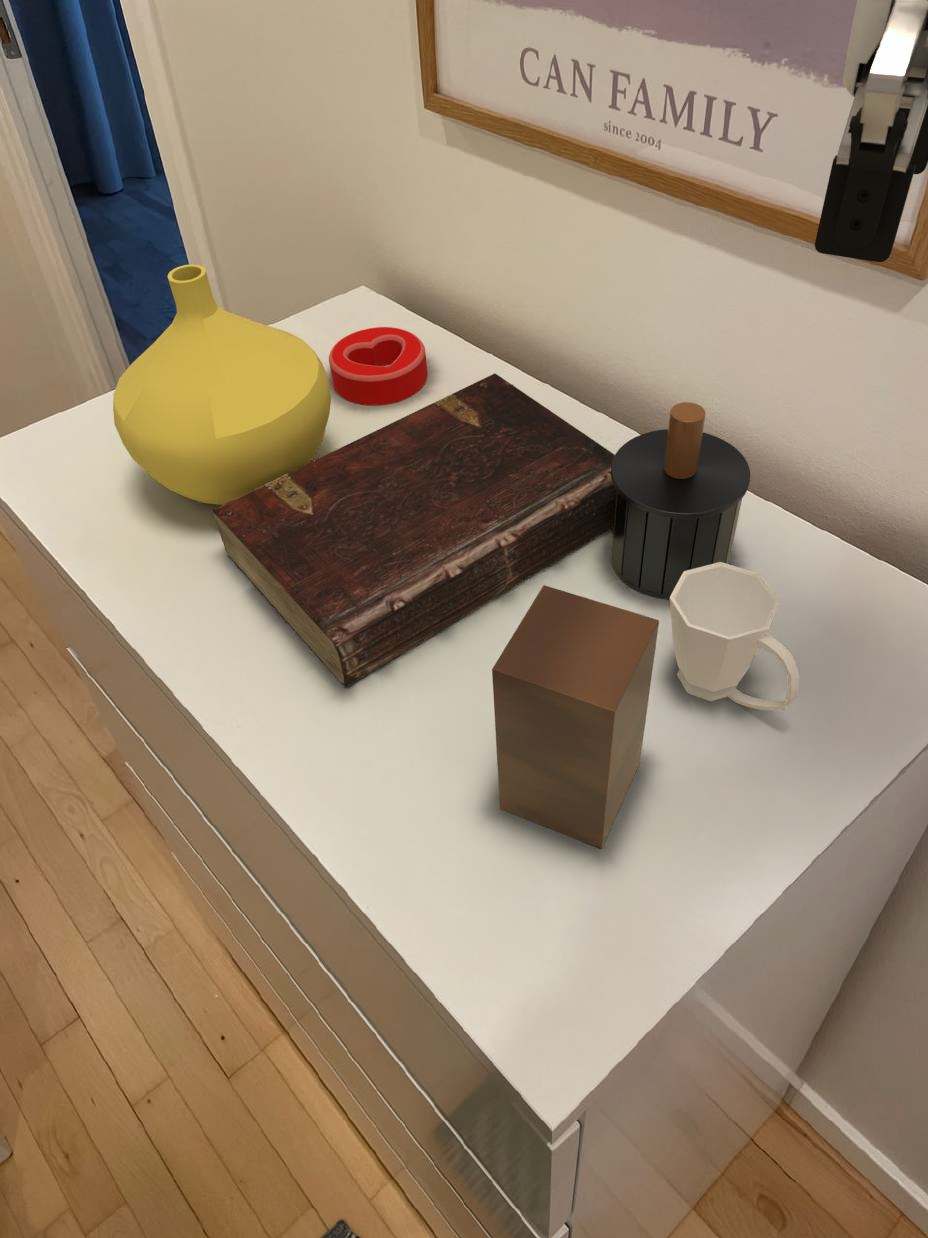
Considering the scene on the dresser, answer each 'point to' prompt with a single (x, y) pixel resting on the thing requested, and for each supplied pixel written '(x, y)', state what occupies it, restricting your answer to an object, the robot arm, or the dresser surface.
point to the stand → (572, 712)
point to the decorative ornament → (378, 366)
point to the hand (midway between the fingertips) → (872, 208)
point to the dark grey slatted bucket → (666, 546)
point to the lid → (681, 469)
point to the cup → (725, 633)
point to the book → (419, 522)
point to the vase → (220, 399)
